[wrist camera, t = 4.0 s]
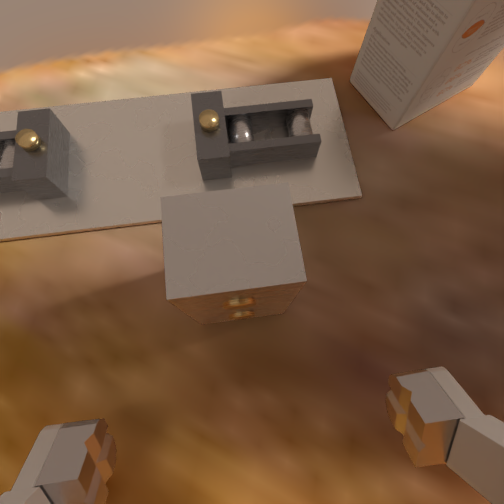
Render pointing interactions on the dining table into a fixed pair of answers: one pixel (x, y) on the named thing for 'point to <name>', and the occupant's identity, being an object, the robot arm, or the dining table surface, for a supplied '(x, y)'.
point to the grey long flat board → (168, 155)
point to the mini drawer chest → (232, 252)
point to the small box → (425, 53)
